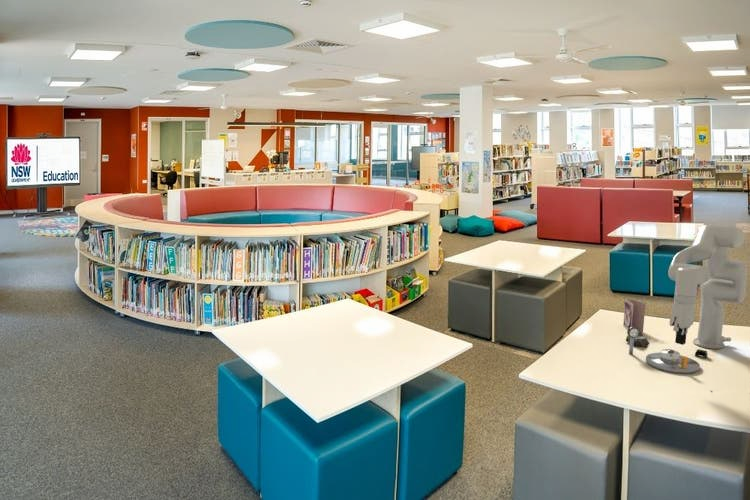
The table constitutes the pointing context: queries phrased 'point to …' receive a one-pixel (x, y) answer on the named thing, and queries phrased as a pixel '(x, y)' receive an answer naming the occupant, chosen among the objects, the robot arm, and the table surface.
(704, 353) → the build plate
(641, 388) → the table surface
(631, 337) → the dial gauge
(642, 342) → the fossil
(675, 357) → the cover
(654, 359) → the platter
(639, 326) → the greeting card
